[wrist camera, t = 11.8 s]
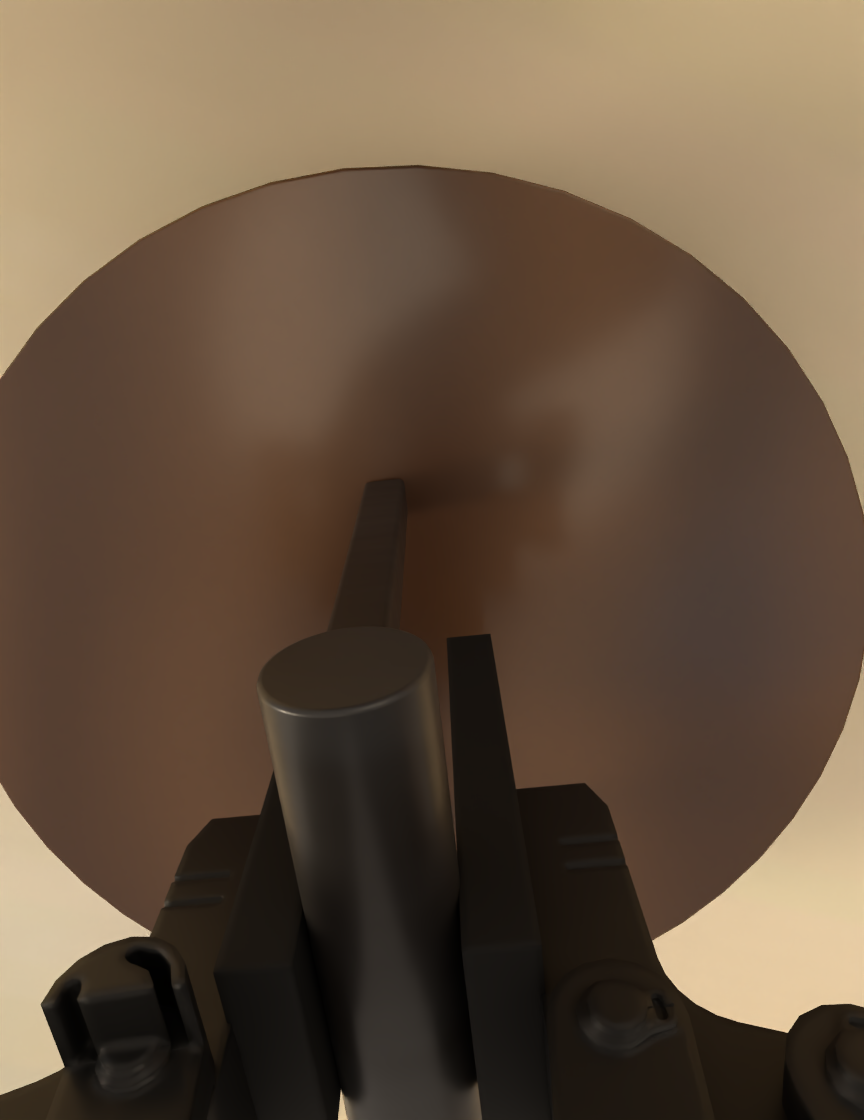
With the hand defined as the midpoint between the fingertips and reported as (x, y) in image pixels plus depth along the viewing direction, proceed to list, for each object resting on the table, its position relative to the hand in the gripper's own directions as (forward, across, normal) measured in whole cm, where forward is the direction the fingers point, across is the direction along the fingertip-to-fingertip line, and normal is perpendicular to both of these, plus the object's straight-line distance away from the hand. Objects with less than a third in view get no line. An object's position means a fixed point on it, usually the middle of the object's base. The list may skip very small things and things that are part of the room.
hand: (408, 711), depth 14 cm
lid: (+2, 0, 0) cm, 2 cm away
